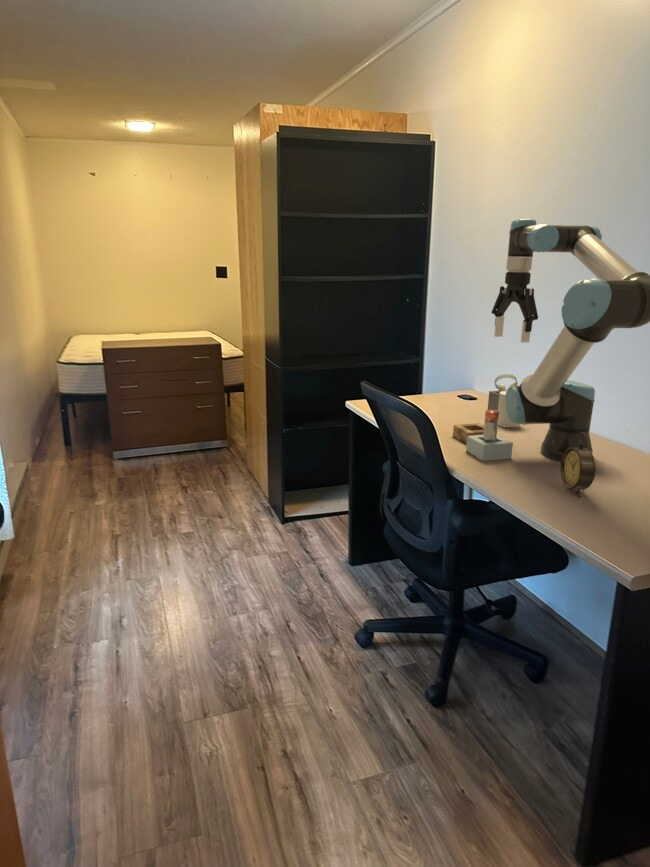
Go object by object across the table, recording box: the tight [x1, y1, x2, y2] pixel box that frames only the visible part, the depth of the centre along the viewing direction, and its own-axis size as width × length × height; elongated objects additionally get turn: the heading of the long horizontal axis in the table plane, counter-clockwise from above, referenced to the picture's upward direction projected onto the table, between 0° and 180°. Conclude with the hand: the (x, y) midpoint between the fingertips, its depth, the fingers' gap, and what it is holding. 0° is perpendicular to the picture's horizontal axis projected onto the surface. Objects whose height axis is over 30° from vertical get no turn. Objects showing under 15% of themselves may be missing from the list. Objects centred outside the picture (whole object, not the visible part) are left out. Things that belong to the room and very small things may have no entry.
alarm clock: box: [559, 432, 597, 498], centre depth 154 cm, size 11×5×16 cm, turn 3°
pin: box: [483, 409, 499, 443], centre depth 183 cm, size 4×4×14 cm
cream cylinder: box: [498, 391, 521, 428], centre depth 217 cm, size 8×8×12 cm
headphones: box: [494, 373, 519, 392], centre depth 228 cm, size 8×4×20 cm
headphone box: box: [487, 389, 507, 411], centre depth 232 cm, size 8×12×9 cm
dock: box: [465, 434, 514, 462], centre depth 184 cm, size 10×10×5 cm
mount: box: [452, 422, 484, 445], centre depth 200 cm, size 10×10×4 cm
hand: (511, 339), depth 192 cm, fingers open, 13 cm apart
